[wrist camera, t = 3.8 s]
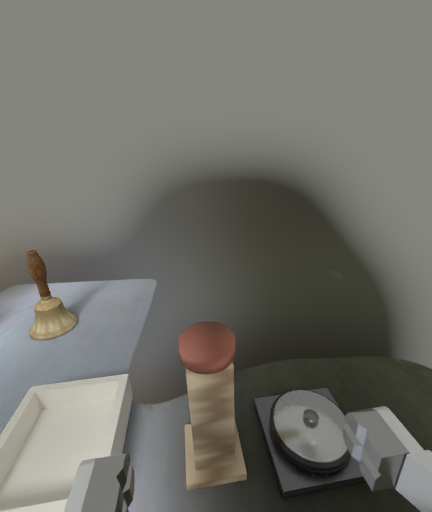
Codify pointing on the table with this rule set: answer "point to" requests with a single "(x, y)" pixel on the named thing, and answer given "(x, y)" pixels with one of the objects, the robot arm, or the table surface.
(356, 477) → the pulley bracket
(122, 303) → the table surface
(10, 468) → the tray
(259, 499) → the table surface
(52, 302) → the hand bell
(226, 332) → the beige red tall post
